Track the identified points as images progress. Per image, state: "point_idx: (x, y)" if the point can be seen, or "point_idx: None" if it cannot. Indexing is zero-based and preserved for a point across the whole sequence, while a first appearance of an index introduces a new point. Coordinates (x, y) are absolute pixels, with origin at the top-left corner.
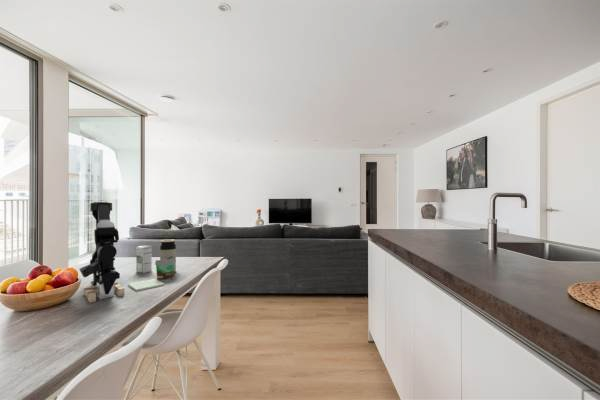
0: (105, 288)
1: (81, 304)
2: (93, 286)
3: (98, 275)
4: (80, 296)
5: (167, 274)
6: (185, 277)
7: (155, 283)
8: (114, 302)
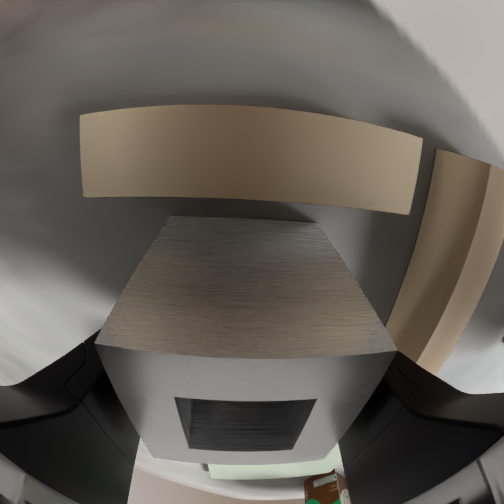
0: (95, 340)
1: (134, 42)
2: (484, 264)
3: (472, 464)
4: (448, 121)
5: (305, 495)
6: (261, 495)
7: (246, 472)
8: (24, 280)
